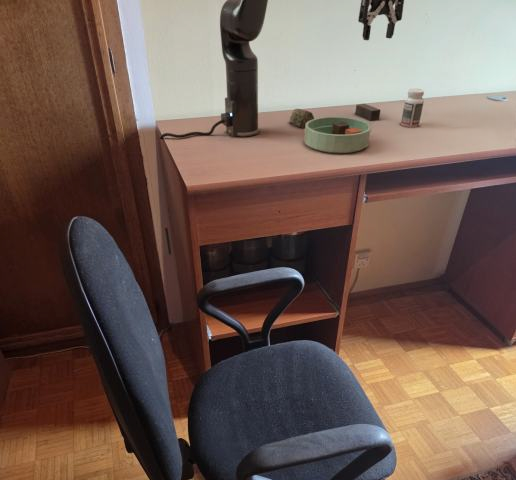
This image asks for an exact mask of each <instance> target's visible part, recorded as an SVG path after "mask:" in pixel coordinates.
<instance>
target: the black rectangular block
mask: <svg viewBox="0 0 516 480" xmlns="http://www.w3.org/2000/svg"><path fill="white" fill-rule="evenodd" d="M354 112H355V113H354V115H355V116H358V117H361V118H363V119H365V120H368V121H370V122H371V121H379V120H380V117H381V109H380V108H377V107H375V106H372V105H369V104H366V103H360V104H359V103H358V104H356V105H355V111H354Z"/></svg>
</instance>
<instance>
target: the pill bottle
mask: <svg viewBox="0 0 516 480" xmlns="http://www.w3.org/2000/svg"><path fill="white" fill-rule="evenodd" d="M424 94H425V90H424V89H420V88H410V89H408V92H407V97H406V98H405V100H404V103H403V110H402V115H401V119H400V124H401V125H402V126H403V127H407V128H414V127H415V128H416V127H418V126H420V122H421V117H422V111H423V108H424V101H425V100H424V98H423V96H424Z"/></svg>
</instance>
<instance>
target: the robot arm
mask: <svg viewBox="0 0 516 480" xmlns="http://www.w3.org/2000/svg"><path fill="white" fill-rule="evenodd" d="M268 3H269V0H226V1H225V2H224V3H223V4H222V6H221V9H220V15H219V30H220V43H221V44H220V45H221V52H222V57H223V60H224V62H225V78H226V97H224V110H225V112H223V113H220V120H219V121H217V122H216V123H214V124H213V125H212V126H211V129H210V130H209V131H208V132H203V131H202V132H201V131H191V132H187V133H182V134H175V133H171V132H165V133H163V134H161V135H160V136H159V137H158V140H163V139H164V138H165V137H171V138H177V139H182V138H187V137H191V136H211V135H212V134H213V133H214V131H215V129H216V128H217V127H218V126H219V125H222V126H224V127H225V131H226V132H227V133H228V134H229V135H230V136H232V137H234V138H235V137H253V136H255V135H257V134H259V59H258V57H257V55H256V54H255V53H254V52H253V50H252V48H251V46H250V42H254V41H255V40H256V39H257V38H259V36H260V34H261V32H262V30H263V27H264V23H265V19H266V13H267V8H268ZM404 3H405V0H361V1H360V8H359V13H358V19H357V20H358V23H361V24H362V25H363V27H362V28H363V29H362V40H363V41H369V40H370V37H371V29H372V25H371V24H372V22H373V21H374V20H375V19H376V18H377V16H383V15H384V16H385V17H386V20H387V21H388V23H387V25H386V26H387V27H386V33H385V38H386V39H392V38H393V37H394V34H395V33H394V32H395V29H396V28H395V27H396V23H397V22H399V21H402V19H403V13H404ZM369 7H370V8H369ZM164 230H165V238H166V243H167V253H168V255H172V249H171V241H170V236H169V235H170V234H169V230H168V227H164Z"/></svg>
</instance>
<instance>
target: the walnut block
mask: <svg viewBox="0 0 516 480" xmlns="http://www.w3.org/2000/svg"><path fill="white" fill-rule="evenodd" d="M346 129H349V125H348V124H346V123H344V122H340V123H333V130H332V134H336V135H345V130H346Z"/></svg>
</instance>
